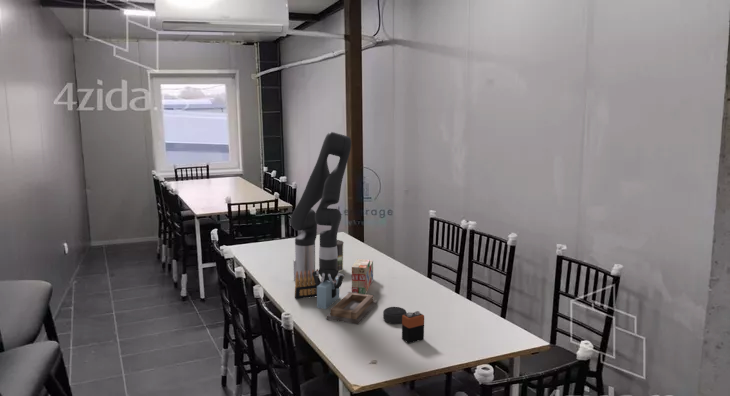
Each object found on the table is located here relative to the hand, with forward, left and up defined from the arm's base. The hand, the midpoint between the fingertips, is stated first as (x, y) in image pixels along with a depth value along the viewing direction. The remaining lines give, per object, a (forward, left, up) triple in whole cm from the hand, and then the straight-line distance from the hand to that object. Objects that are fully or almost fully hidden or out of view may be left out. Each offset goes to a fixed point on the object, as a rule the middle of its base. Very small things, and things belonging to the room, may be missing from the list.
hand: (328, 296), depth 227 cm
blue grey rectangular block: (0, 0, -3) cm, 3 cm away
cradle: (+13, -6, -3) cm, 15 cm away
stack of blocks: (+6, +25, -3) cm, 26 cm away
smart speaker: (+31, -8, -3) cm, 32 cm away
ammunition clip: (-11, +3, -3) cm, 12 cm away
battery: (+42, -23, -3) cm, 48 cm away
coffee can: (-16, +43, -3) cm, 46 cm away
